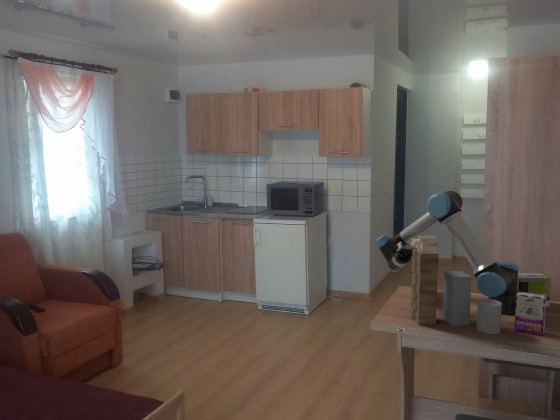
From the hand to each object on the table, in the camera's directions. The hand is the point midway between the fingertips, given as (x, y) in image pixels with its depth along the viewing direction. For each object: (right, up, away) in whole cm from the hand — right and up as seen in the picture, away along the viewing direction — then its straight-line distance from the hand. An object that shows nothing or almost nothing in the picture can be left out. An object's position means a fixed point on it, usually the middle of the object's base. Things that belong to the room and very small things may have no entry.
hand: (415, 243), depth 240 cm
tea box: (+61, -31, +16) cm, 70 cm away
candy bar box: (+43, -36, -20) cm, 60 cm away
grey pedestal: (+16, -34, -8) cm, 39 cm away
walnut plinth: (+2, -34, -6) cm, 35 cm away
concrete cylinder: (+27, -36, -18) cm, 48 cm away
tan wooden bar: (+1, -2, -6) cm, 6 cm away
